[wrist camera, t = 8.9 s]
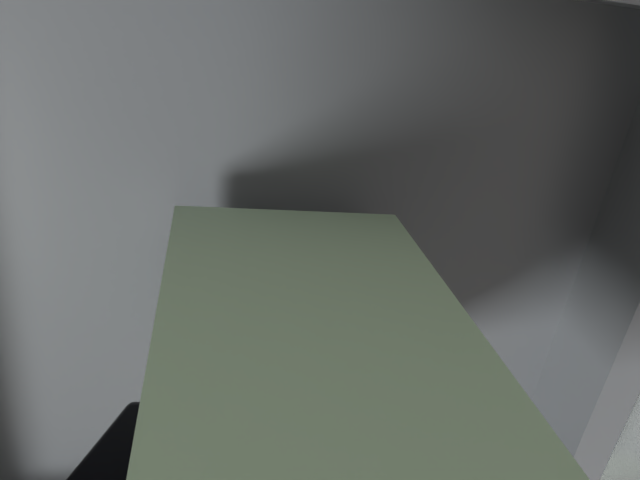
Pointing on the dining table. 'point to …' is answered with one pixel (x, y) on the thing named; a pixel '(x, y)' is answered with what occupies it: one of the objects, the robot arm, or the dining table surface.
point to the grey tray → (318, 182)
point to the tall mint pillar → (324, 361)
